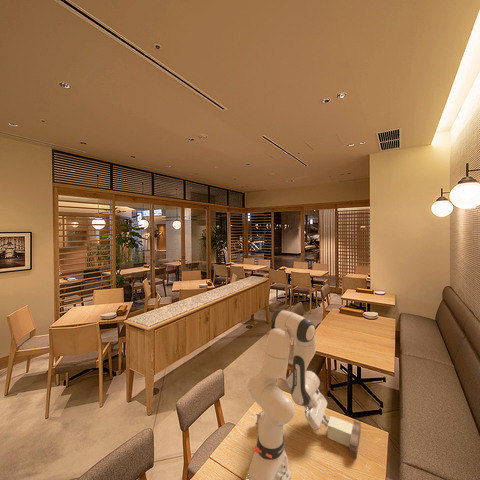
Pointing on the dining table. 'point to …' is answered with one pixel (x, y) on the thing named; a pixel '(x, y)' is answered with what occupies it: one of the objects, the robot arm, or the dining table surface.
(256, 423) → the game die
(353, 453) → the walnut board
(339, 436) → the cream rectangular block
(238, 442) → the dining table surface
